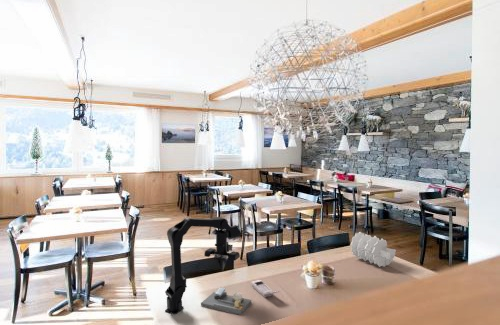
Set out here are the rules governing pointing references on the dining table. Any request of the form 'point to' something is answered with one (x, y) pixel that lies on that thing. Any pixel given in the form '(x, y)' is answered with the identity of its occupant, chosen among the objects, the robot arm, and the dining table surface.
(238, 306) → the wood grain cube
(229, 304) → the control panel
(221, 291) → the rocker switch
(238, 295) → the push button
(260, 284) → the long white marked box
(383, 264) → the spiral staircase
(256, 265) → the dining table surface
